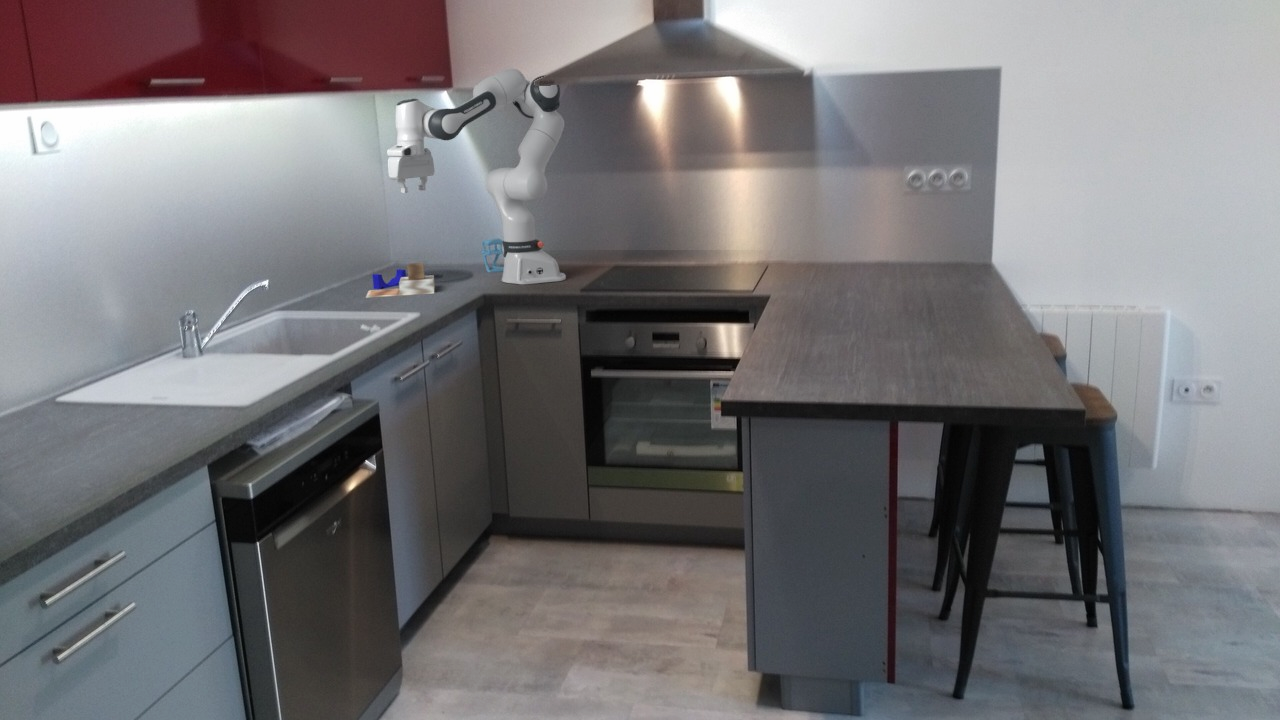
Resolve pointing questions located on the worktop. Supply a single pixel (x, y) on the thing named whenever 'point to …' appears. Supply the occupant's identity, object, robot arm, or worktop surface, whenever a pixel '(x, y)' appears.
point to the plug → (416, 271)
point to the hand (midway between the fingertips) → (413, 191)
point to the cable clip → (380, 283)
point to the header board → (407, 288)
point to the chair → (491, 252)
